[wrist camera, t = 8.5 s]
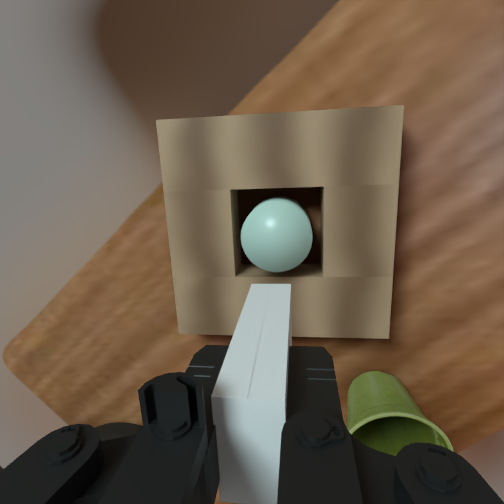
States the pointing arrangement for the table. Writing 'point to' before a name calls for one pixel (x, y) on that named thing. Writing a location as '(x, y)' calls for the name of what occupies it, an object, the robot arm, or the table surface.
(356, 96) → the table surface
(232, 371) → the robot arm
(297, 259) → the pale mint egg
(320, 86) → the table surface
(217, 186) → the dock
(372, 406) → the plant pot
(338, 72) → the table surface
